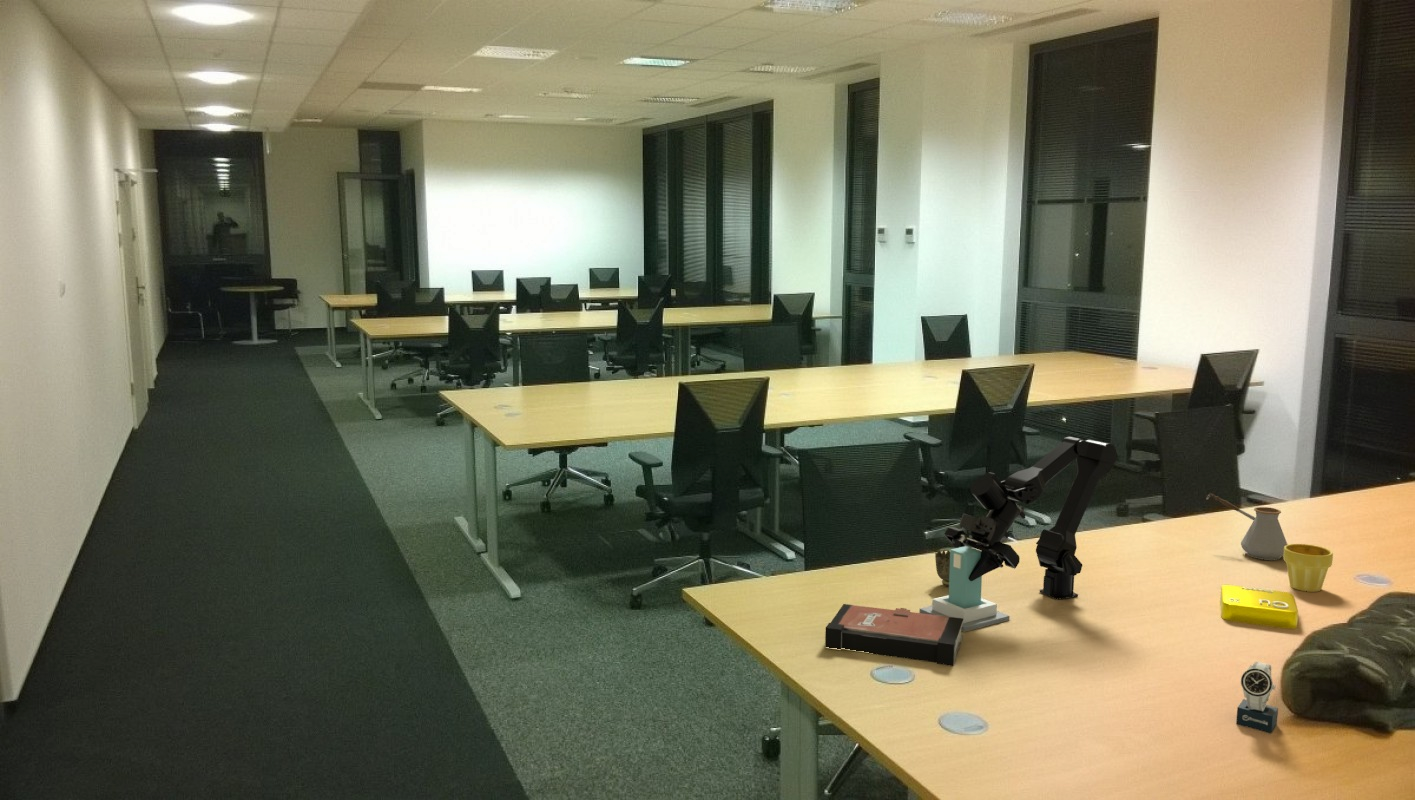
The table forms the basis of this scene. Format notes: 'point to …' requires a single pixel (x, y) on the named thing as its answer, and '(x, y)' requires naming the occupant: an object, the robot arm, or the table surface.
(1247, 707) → the watch
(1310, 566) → the plant pot
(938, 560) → the cup
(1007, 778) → the table surface
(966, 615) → the square socket base
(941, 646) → the book
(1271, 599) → the element tile
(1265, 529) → the coffee pot
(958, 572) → the teal rectangular block
